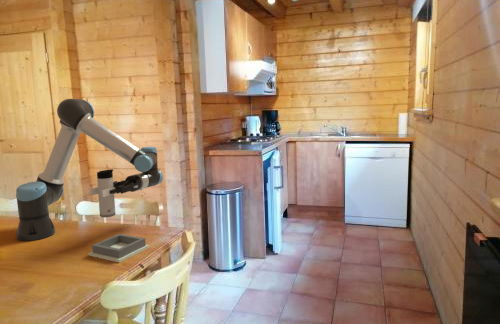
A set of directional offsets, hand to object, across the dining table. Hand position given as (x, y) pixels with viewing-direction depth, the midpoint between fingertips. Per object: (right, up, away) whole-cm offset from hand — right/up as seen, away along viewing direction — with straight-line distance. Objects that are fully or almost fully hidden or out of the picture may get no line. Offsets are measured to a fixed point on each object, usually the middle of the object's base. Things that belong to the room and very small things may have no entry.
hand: (96, 192), depth 154 cm
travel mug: (+2, -10, +6) cm, 12 cm away
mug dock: (+12, -22, -7) cm, 26 cm away
